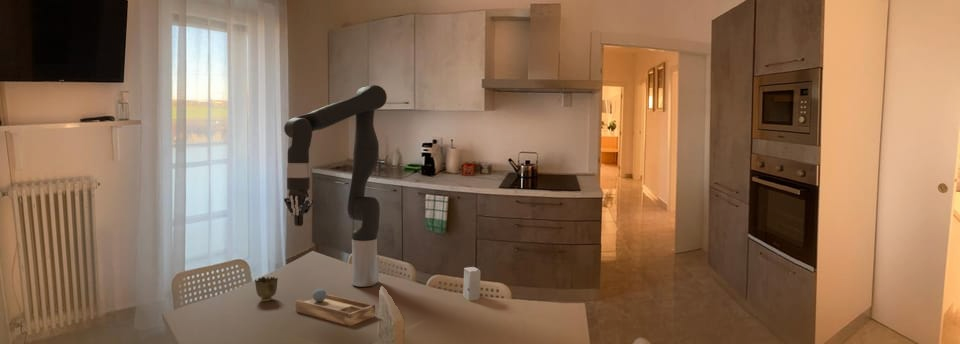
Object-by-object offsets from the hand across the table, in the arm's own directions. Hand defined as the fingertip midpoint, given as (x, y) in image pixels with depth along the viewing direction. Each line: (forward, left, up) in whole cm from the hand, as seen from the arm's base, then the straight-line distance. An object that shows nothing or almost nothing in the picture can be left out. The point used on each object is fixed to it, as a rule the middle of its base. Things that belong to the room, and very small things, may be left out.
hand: (298, 225), depth 189 cm
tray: (+2, +20, -27) cm, 34 cm away
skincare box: (-34, +50, -27) cm, 66 cm away
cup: (+6, -10, -27) cm, 30 cm away
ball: (+1, +12, -22) cm, 25 cm away
